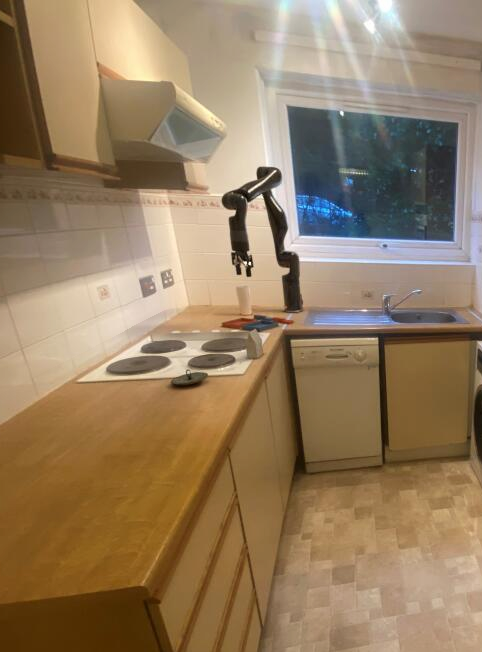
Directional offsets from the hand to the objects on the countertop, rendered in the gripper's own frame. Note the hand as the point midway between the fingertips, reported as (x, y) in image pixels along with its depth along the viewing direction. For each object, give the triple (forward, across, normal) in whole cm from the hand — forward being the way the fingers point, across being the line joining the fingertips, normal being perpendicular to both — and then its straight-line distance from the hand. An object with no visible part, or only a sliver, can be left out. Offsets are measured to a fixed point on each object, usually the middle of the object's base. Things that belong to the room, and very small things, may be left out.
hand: (244, 275), depth 207 cm
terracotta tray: (+24, +3, +3) cm, 24 cm away
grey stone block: (+24, -48, +26) cm, 60 cm away
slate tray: (+24, -9, 0) cm, 25 cm away
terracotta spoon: (+24, -5, -14) cm, 28 cm away
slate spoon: (+24, +6, -11) cm, 27 cm away
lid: (+24, -61, +56) cm, 86 cm away
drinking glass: (+24, +24, -12) cm, 36 cm away
